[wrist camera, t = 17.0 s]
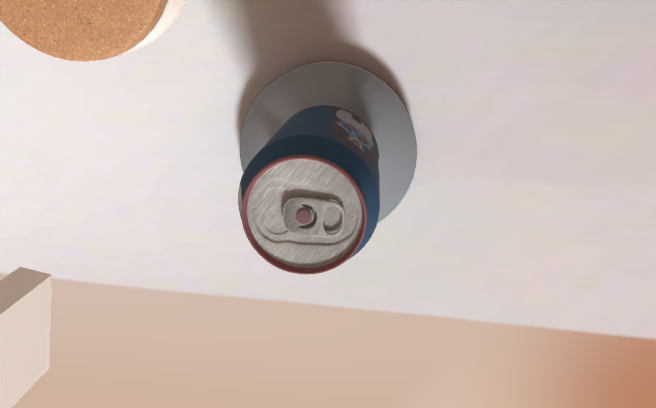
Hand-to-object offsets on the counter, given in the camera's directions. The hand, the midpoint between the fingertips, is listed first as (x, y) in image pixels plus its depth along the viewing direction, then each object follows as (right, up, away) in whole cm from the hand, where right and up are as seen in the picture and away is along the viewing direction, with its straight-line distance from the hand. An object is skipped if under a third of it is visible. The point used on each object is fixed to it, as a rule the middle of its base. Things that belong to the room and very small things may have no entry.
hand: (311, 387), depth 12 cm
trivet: (0, +8, +23) cm, 25 cm away
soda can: (0, +8, +22) cm, 23 cm away
